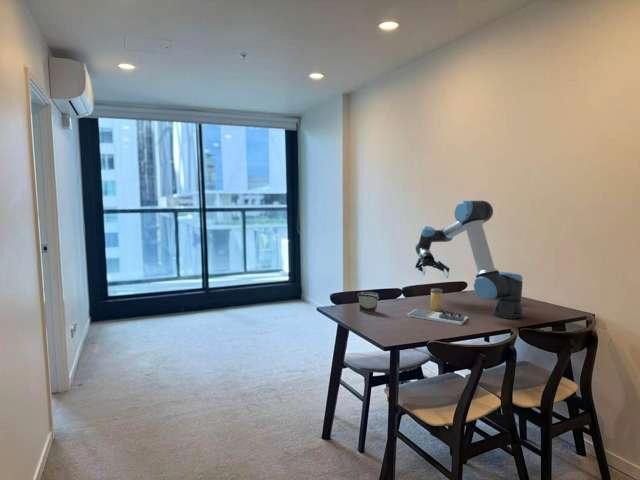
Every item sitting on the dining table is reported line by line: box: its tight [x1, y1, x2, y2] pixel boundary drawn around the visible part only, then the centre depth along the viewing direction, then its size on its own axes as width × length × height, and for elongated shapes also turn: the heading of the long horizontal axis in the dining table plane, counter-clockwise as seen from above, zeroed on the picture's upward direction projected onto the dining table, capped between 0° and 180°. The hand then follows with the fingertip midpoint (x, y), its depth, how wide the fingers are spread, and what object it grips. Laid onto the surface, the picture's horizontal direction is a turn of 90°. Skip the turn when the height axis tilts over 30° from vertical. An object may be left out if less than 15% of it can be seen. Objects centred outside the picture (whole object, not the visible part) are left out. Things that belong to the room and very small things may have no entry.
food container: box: [357, 291, 380, 314], centre depth 241 cm, size 12×6×10 cm, turn 57°
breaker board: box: [406, 308, 469, 326], centre depth 229 cm, size 28×13×5 cm, turn 57°
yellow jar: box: [429, 287, 444, 312], centre depth 245 cm, size 6×6×12 cm
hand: (436, 274), depth 249 cm, fingers open, 13 cm apart
